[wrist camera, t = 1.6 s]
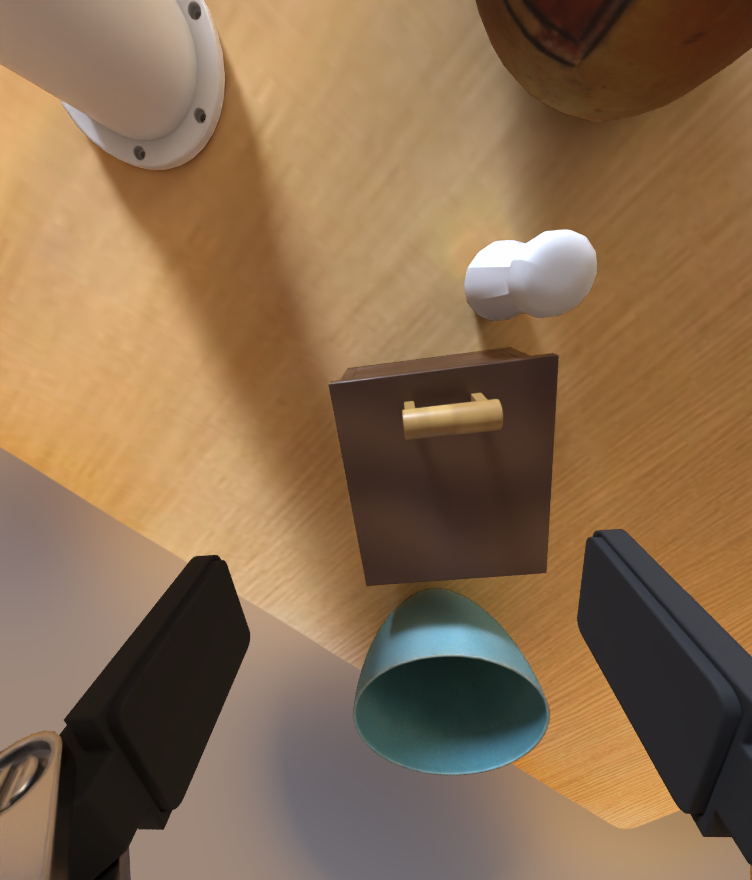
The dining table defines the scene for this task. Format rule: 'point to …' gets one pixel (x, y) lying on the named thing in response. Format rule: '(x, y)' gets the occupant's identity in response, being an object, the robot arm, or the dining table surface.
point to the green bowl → (448, 689)
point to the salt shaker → (531, 276)
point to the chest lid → (450, 468)
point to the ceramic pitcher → (615, 49)
